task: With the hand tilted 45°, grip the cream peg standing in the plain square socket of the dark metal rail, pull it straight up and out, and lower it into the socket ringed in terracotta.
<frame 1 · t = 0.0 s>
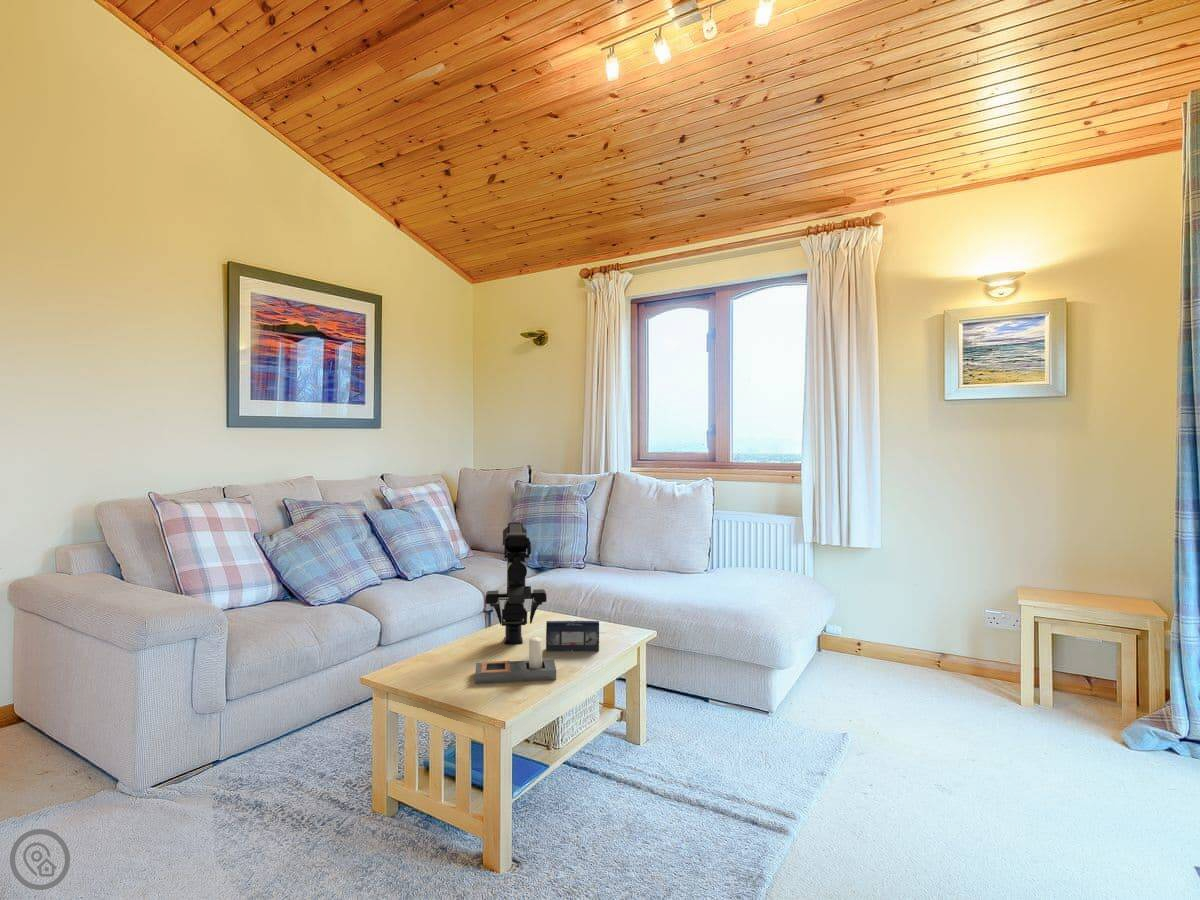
hand: (515, 623, 190), 15 cm above the table, fingers open, 9 cm apart
rail: (515, 676, 186), on the table
peg: (535, 675, 187), resting in rail
vhs cassette tape: (572, 651, 210), on the table
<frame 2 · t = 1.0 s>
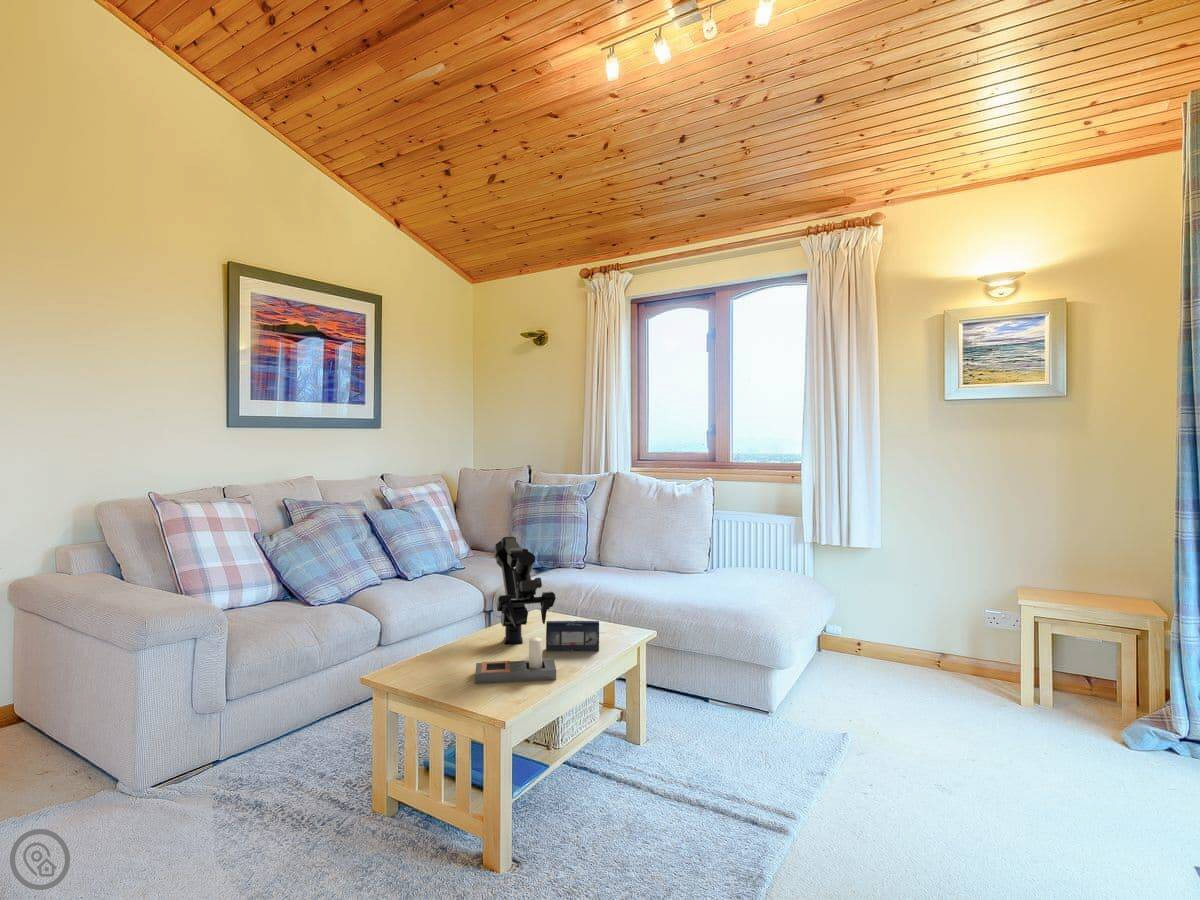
hand: (530, 624, 193), 13 cm above the table, fingers open, 9 cm apart
nothing on the table moved.
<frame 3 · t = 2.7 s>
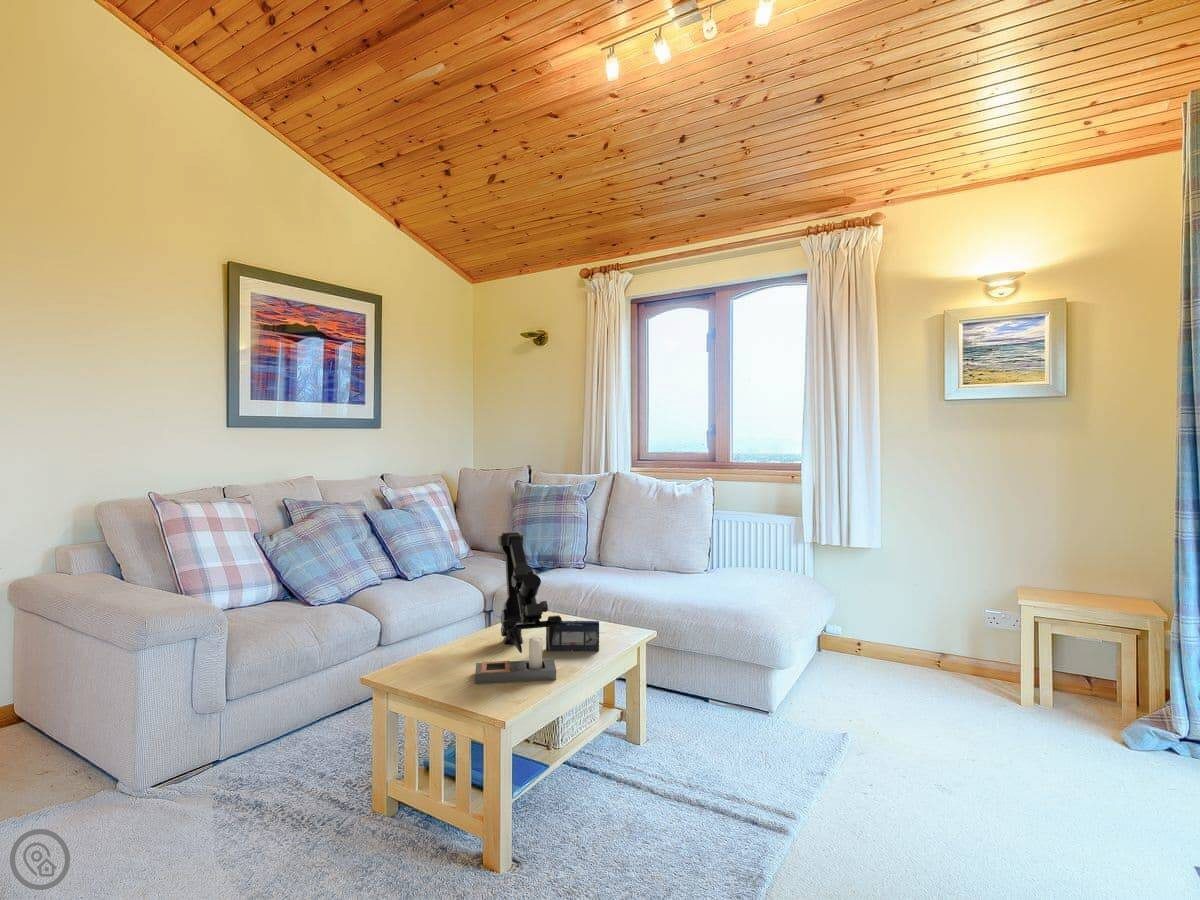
hand: (535, 650, 186), 8 cm above the table, fingers open, 9 cm apart
nothing on the table moved.
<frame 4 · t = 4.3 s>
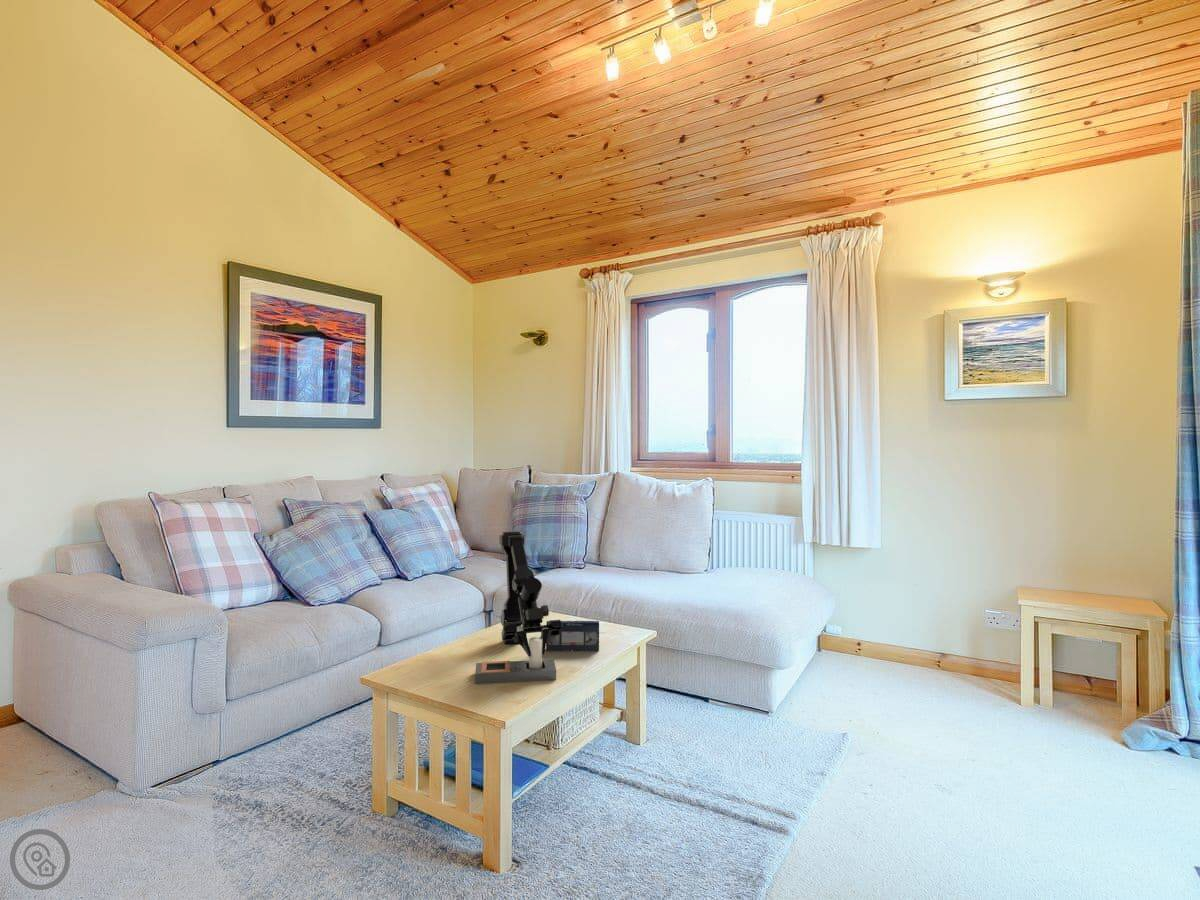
hand: (536, 655, 185), 7 cm above the table, fingers closed on peg, 4 cm apart
peg: (535, 675, 187), resting in rail, touching gripper
everything else where it was.
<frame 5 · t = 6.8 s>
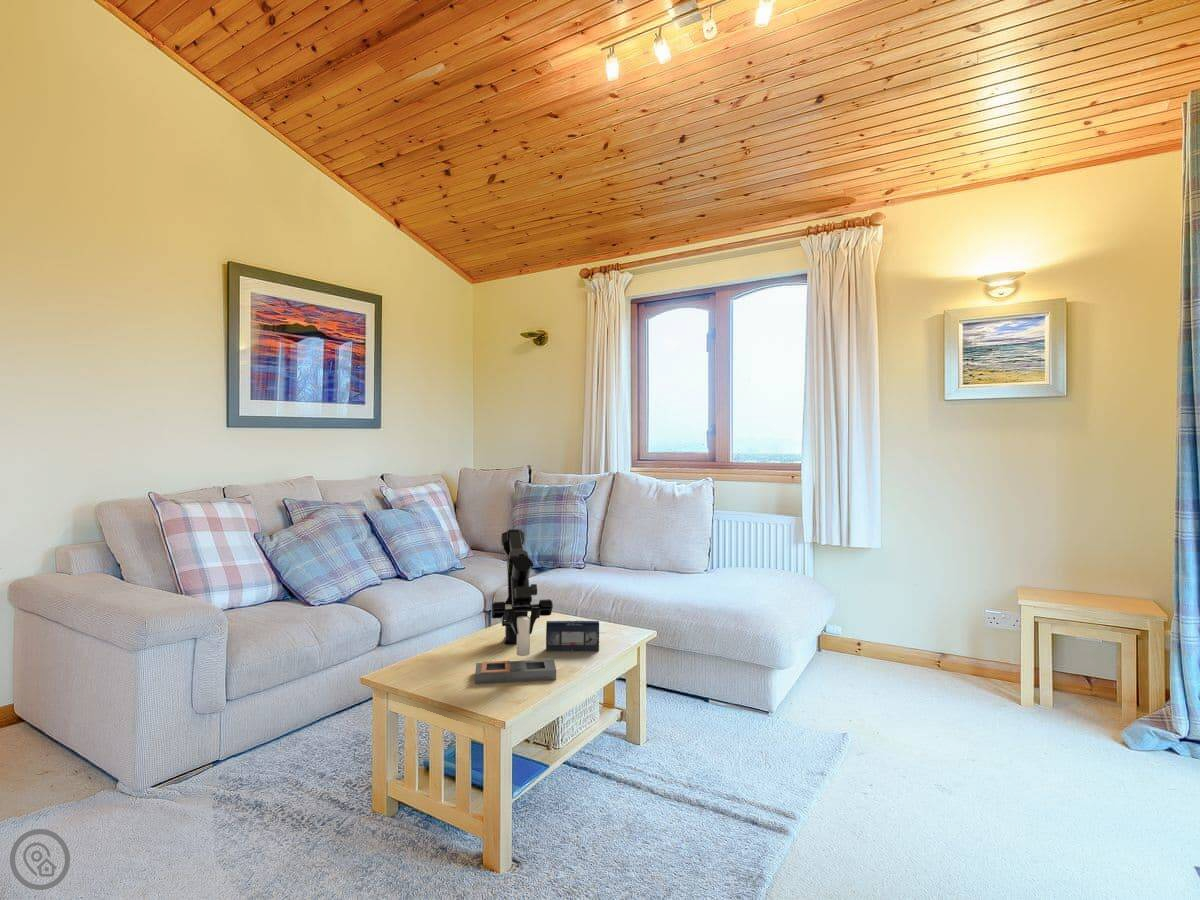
hand: (523, 633, 184), 13 cm above the table, fingers closed on peg, 4 cm apart
peg: (523, 653, 185), point 7 cm above the table, touching gripper
everything else where it was.
when the fingers open (8 cm above the table, at t = 9.6 s): peg drops 1 cm, resting in rail.
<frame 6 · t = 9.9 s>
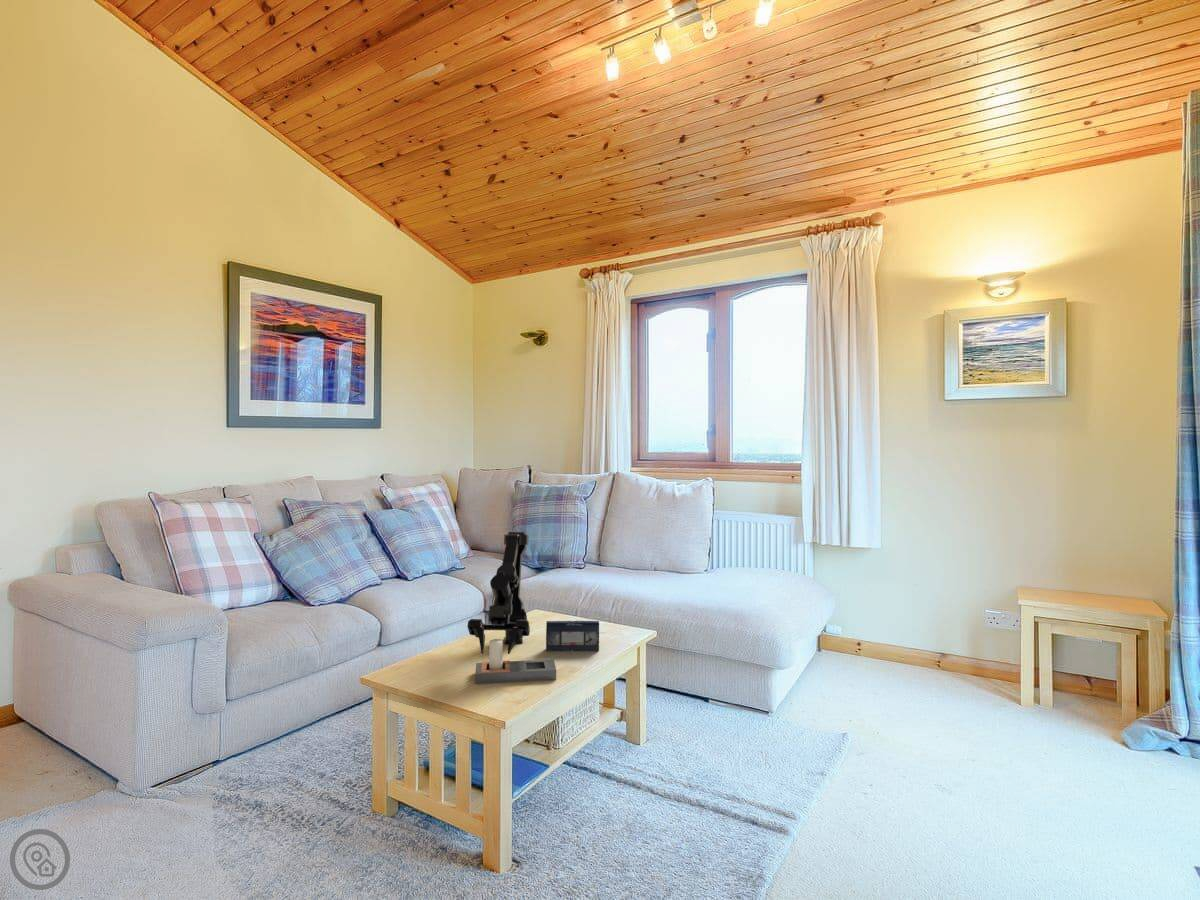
hand: (495, 653, 183), 8 cm above the table, fingers open, 8 cm apart
peg: (495, 677, 185), resting in rail
everything else where it was.
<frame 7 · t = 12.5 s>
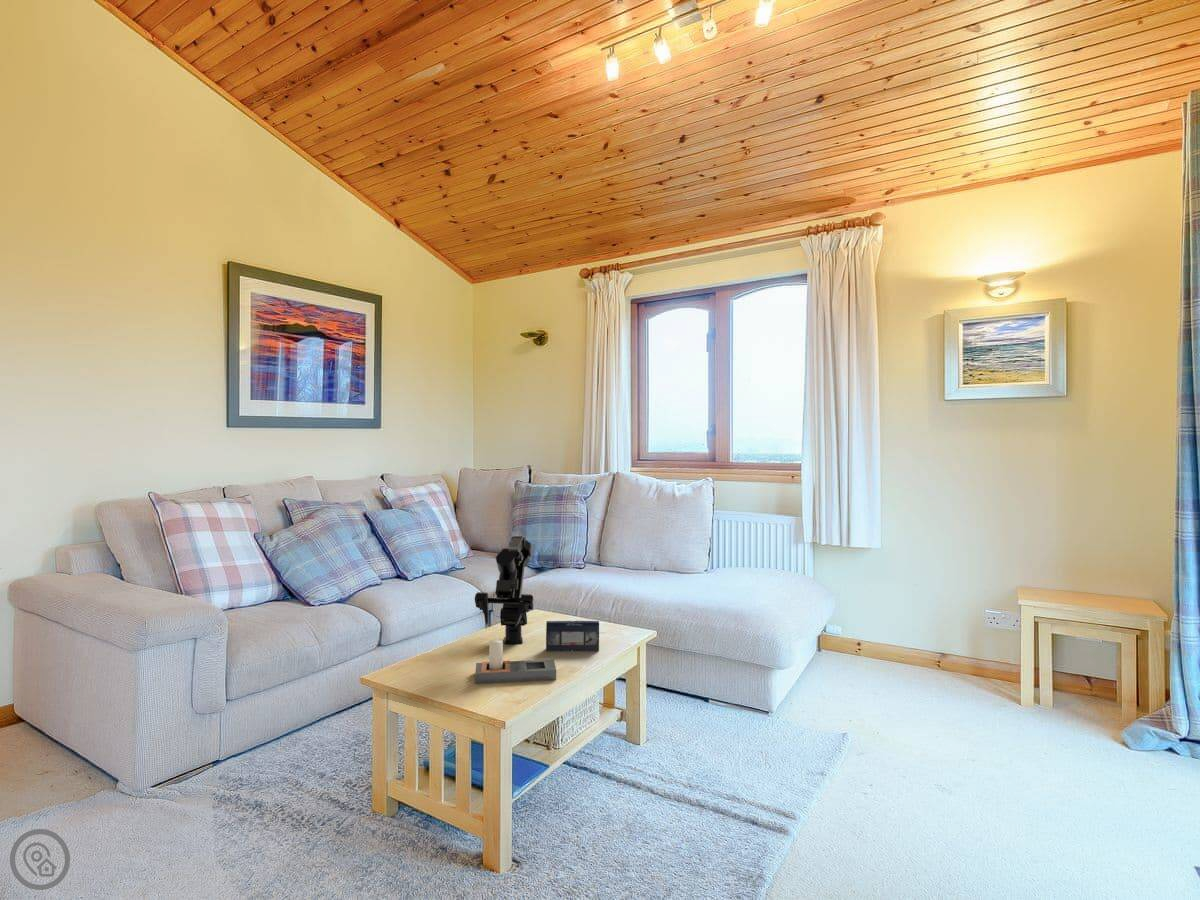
hand: (501, 625, 192), 14 cm above the table, fingers open, 9 cm apart
nothing on the table moved.
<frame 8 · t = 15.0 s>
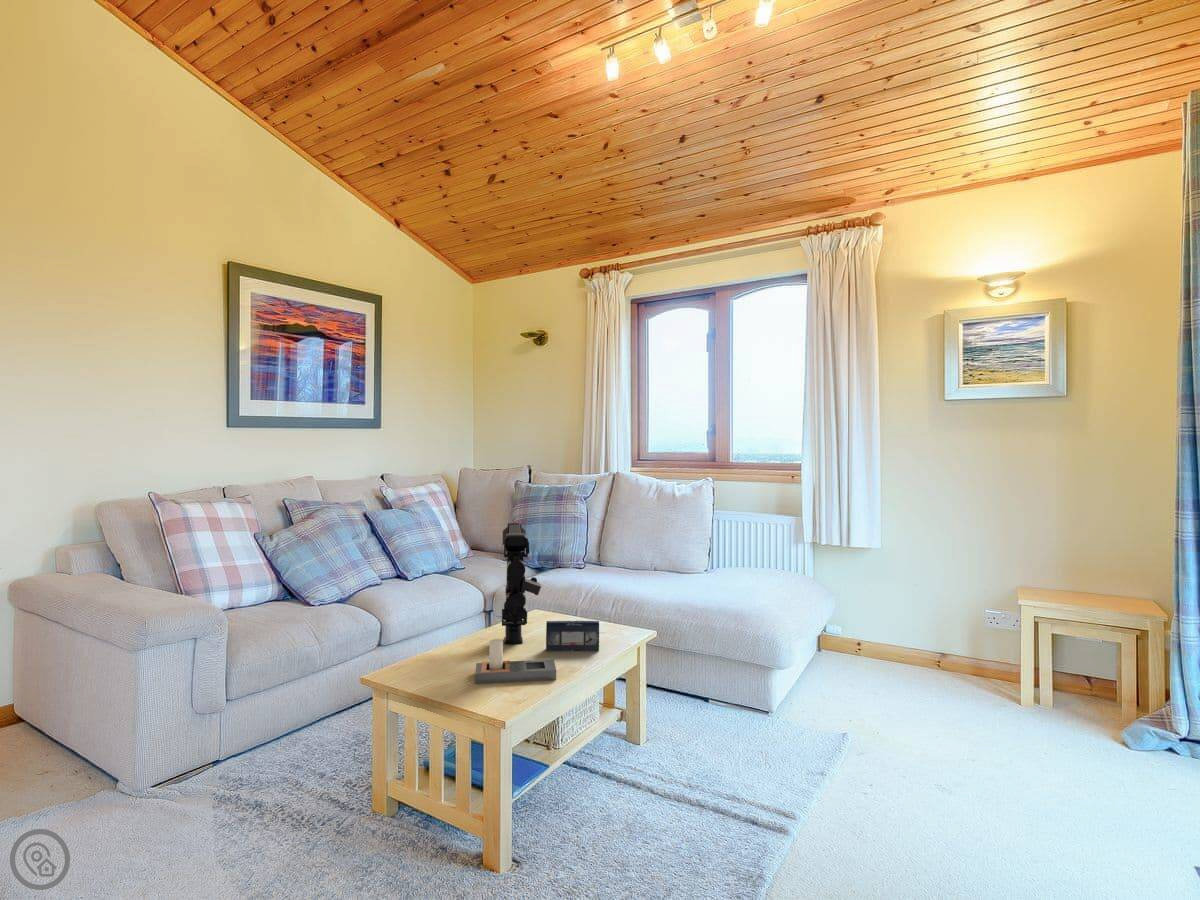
hand: (514, 619, 200), 13 cm above the table, fingers open, 9 cm apart
nothing on the table moved.
at the end: peg 0.0 cm from the target spot on the rail, point 0.0 cm above the rail's base; peg tilted 0°; the gripper is holding nothing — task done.
